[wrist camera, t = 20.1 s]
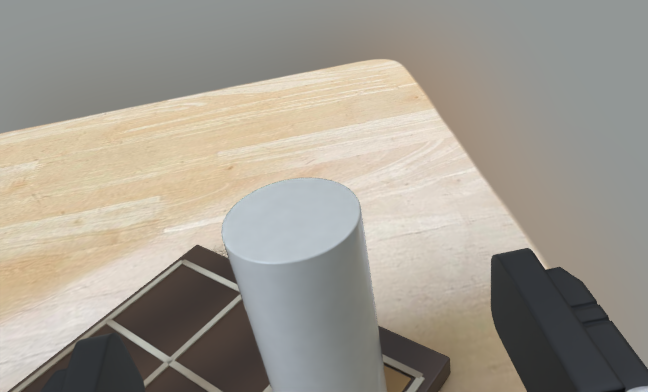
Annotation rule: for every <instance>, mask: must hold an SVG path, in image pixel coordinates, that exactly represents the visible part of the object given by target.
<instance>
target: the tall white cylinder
mask: <svg viewBox="0 0 648 392" xmlns="http://www.w3.org/2000/svg"><path fill="white" fill-rule="evenodd" d="M221 233H222V239H223V243H224V246H225V249H226V252H227V255H228V258H229V261H230V264H231V267H232V270H233V273H234V276H235V279H236V282H237V285H238V289H239V292H240V295H241V298H242V301H243V304H244V307H245V310H246V313H247V316H248V319H249V322H250V325H251V328H252V331H253V335H254V338H255V341H256V344H257V347H258V350H259V353H260V356H261V359H262V362H263V365H264V368H265V371H266V374H267V377H268V381H269V384H270V387H271V390H272V392H387V383H386V376H385V370H384V363H383V356H382V349H381V342H380V335H379V328H378V321H377V315H376V308H375V301H374V294H373V287H372V280H371V273H370V267H369V260H368V253H367V246H366V239H365V232H364V225H363V219H362V212H361V206H360V202H359V200H358V198H357V197H356V195H355V194H354V193H353V192H352V191H351V190H350V189H349V188H347V187H346V186H344V185H342V184H340V183H337V182H334V181H331V180H327V179H321V178H295V179H288V180H283V181H279V182H276V183H272V184H269V185H267V186H264V187H262V188H259V189H257V190H255V191H253V192H252V193H250V194H248V195H247V196H245V197H244V198H242V199H241V200H240V201H239V202H237V203H236V204H235V205H234V206H233V207H232V208H231V210H230V211H229V212H228V214H227V215H226V217H225V219H224V222H223V225H222V231H221Z"/></svg>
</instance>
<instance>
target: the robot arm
mask: <svg viewBox="0 0 648 392" xmlns="http://www.w3.org/2000/svg"><path fill="white" fill-rule="evenodd" d="M491 312H492V317H493V321H494V324H495V328H496V330H497V333H498V335H499V337H500V339H501V341H502V343H503V345H504V347H505V349H506V351H507V353H508V355H509V357H510V359H511V361H512V363H513V365H514V367H515V369H516V371H517V373H518V374H519V376H520V378H521V380H522V382H523V384H524V386H525V388H526V390H527V392H648V369H647V367H646V366H645V365H644V364H643V362H642V361H641V359H640V358H639V357H638V355H637V354H636V353H635V352H634V350H633V349H632V347H631V346H630V345H629V343H628V342H627V341H626V339H625V338H624V337H623V335H622V334H621V333H620V332H619V330H618V329H617V327H616V326H615V325H614V323H613V322H612V321H610V320H609V318H608V315H607V314H606V313H605V311H604V310H603V309H602V307H601V306H600V305H598V304H597V301H596V299H595V298H594V297H593V295H592V294H591V293H590V291H589V290H588V289H587V287H586V286H585V285H584V283H583V282H582V281H580V280H579V279H577V278H576V277H574V276H572V275H571V274H570V273H568V272H567V271H565V270H564V269H562V268H561V267H557V268H552V269H547V270H545V269H544V267H543V266H542V264H541V263H540V261H539V260H538V258H537V257H536V255H535V254H534V253H533V251H532V250H531V249H529V248H525V249H520V250H515V251H511V252H506V253H501V254H496V255H493V256H492V259H491ZM40 392H146V391H145V385H144V382H143V379H142V377H141V375H140V373H139V371H138V369H137V367H136V365H135V363H134V361H133V360H132V358H131V356H130V354H129V352H128V350H127V348H126V346H125V344H124V343H123V341H122V339H121V337H120V336H119V335H118V334H117V333H109V334H105V335H100V336H95V337H90V338H85V339H80V340H78V341H77V342H76V344H75V346H74V349H73V352H72V355H71V358H70V361H69V364H68V368H65V369H61V370H56V371H55V372H54V373H53V375H52V376H51V377H50V379H49V380H48V381H47V383H46V384H45V385H44V387H43V388H42V389H41V391H40Z"/></svg>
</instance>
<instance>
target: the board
mask: <svg viewBox="0 0 648 392" xmlns="http://www.w3.org/2000/svg"><path fill="white" fill-rule="evenodd" d="M378 328H379V335H380V342H381V349H382V356H383V363H384V370H385V376H386V383H387V392H438V391H439V389H440V388H441V386H442V385H443V383H444V382H445V380H446V379H447V377H448V376H449V374H450V358H449V357H447V356H445V355H443V354H440V353H438V352H436V351H434V350H432V349H429V348H427V347H425V346H423V345H420V344H418V343H416V342H414V341H411V340H409V339H407V338H405V337H402V336H400V335H398V334H396V333H394V332H391V331H389V330H387V329H385V328H382V327H380V326H378ZM109 333H117V334H118V335H119V336H120V337H121V339H122V341H123V343H124V344H125V346H126V348H127V350H128V352H129V354H130V356H131V358H132V360H133V361H134V363H135V365H136V367H137V369H138V371H139V373H140V375H141V377H142V379H143V382H144V385H145V391H146V392H272V390H271V387H270V384H269V381H268V377H267V374H266V371H265V368H264V365H263V362H262V359H261V356H260V353H259V350H258V347H257V344H256V341H255V338H254V335H253V331H252V328H251V325H250V322H249V319H248V316H247V313H246V310H245V307H244V304H243V301H242V298H241V295H240V292H239V289H238V285H237V282H236V279H235V276H234V273H233V270H232V267H231V264H230V261H229V259H228V258H226V257H224V256H222V255H219V254H217V253H215V252H213V251H211V250H208V249H206V248H204V247H202V246H199V245H196V246H195V247H193V248H192V249H191V250H189V251H188V252H187V253H186V254H184V255H183V256H182V257H180V258H179V259H178V260H176V261H175V262H174V263H173V264H171V265H170V266H169V267H167V268H166V269H165V270H164V271H162V272H161V273H160V274H158V275H157V276H156V277H155V278H153V279H152V280H151V281H149V282H148V283H147V284H146V285H144V286H143V287H142V288H140V289H139V290H138V291H137V292H135V293H134V294H133V295H131V296H130V297H129V298H128V299H126V300H125V301H124V302H122V303H121V304H120V305H119V306H117V307H116V308H115V309H113V310H112V311H111V312H110V313H108V314H107V315H106V316H104V317H103V318H102V319H100V320H99V321H98V322H97V323H95V324H94V325H93V326H91V327H90V328H89V329H88V330H86V331H85V332H84V333H82V334H81V335H80V336H79V337H77V338H76V339H75V340H73V341H72V342H71V343H70V344H68V345H67V346H66V347H64V348H63V349H62V350H61V351H59V352H58V353H57V354H55V355H54V356H53V357H52V358H50V359H49V360H48V361H46V362H45V363H44V364H43V365H41V366H40V367H39V368H37V369H36V370H35V371H33V372H32V373H31V374H30V375H28V376H27V377H26V378H24V379H23V380H22V381H21V382H19V383H18V384H17V385H15V386H14V387H13V388H12V389H10V390H9V391H8V392H40V391H41V389H42V388H43V387H44V385H45V384H46V383H47V381H48V380H49V379H50V377H51V376H52V375H53V373H54V372H55V371H56V370H61V369H65V368H68V364H69V361H70V358H71V355H72V352H73V349H74V346H75V344H76V342H77V341H78V340H80V339H85V338H90V337H95V336H100V335H105V334H109Z"/></svg>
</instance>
